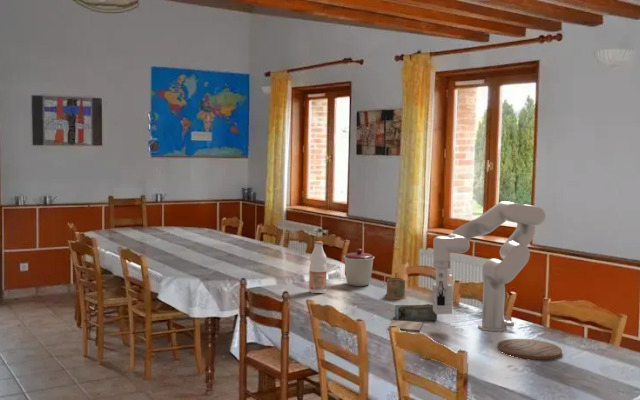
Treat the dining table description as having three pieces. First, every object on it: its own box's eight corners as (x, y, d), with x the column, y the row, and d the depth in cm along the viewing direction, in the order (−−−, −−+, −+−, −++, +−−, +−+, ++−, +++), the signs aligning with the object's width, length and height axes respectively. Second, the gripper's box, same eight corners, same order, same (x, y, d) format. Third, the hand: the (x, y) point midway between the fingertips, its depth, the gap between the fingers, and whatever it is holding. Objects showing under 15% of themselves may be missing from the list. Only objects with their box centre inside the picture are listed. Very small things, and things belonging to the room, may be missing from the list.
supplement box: (448, 310, 323) (448, 282, 322) (452, 314, 316) (452, 285, 315) (432, 310, 323) (432, 282, 322) (435, 314, 316) (435, 286, 314)
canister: (336, 283, 418) (337, 248, 416) (358, 280, 430) (359, 245, 428) (358, 289, 404) (359, 252, 403) (380, 285, 416) (381, 249, 415)
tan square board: (422, 324, 329) (422, 322, 328) (419, 332, 315) (419, 330, 315) (392, 322, 332) (392, 319, 332) (387, 329, 318) (387, 327, 318)
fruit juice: (305, 292, 393) (306, 241, 391) (317, 289, 400) (318, 240, 398) (317, 294, 387) (318, 243, 384) (329, 292, 393) (330, 242, 391)
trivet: (573, 352, 290) (573, 348, 290) (542, 365, 273) (542, 360, 273) (517, 339, 308) (518, 335, 308) (485, 350, 291) (485, 346, 290)
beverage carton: (394, 316, 343) (394, 303, 342) (433, 316, 345) (433, 303, 345) (397, 321, 335) (398, 307, 334) (437, 320, 337) (438, 307, 337)
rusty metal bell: (405, 292, 398) (406, 271, 397) (406, 299, 380) (407, 277, 379) (385, 291, 399) (385, 270, 398) (384, 298, 382) (385, 276, 381)
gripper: (449, 268, 308) (449, 307, 310) (451, 261, 325) (451, 298, 326) (431, 267, 310) (431, 307, 312) (435, 260, 327) (435, 298, 328)
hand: (441, 302), depth 319 cm, fingers closed on supplement box, 8 cm apart
